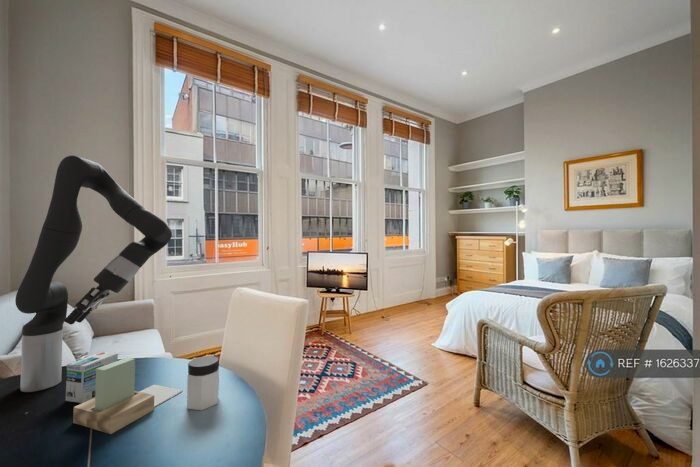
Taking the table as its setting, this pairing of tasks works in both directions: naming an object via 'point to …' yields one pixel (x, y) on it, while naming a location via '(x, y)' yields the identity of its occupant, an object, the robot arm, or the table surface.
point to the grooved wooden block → (113, 413)
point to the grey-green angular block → (114, 383)
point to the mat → (161, 393)
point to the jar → (203, 382)
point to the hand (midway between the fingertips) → (72, 322)
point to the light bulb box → (85, 376)
